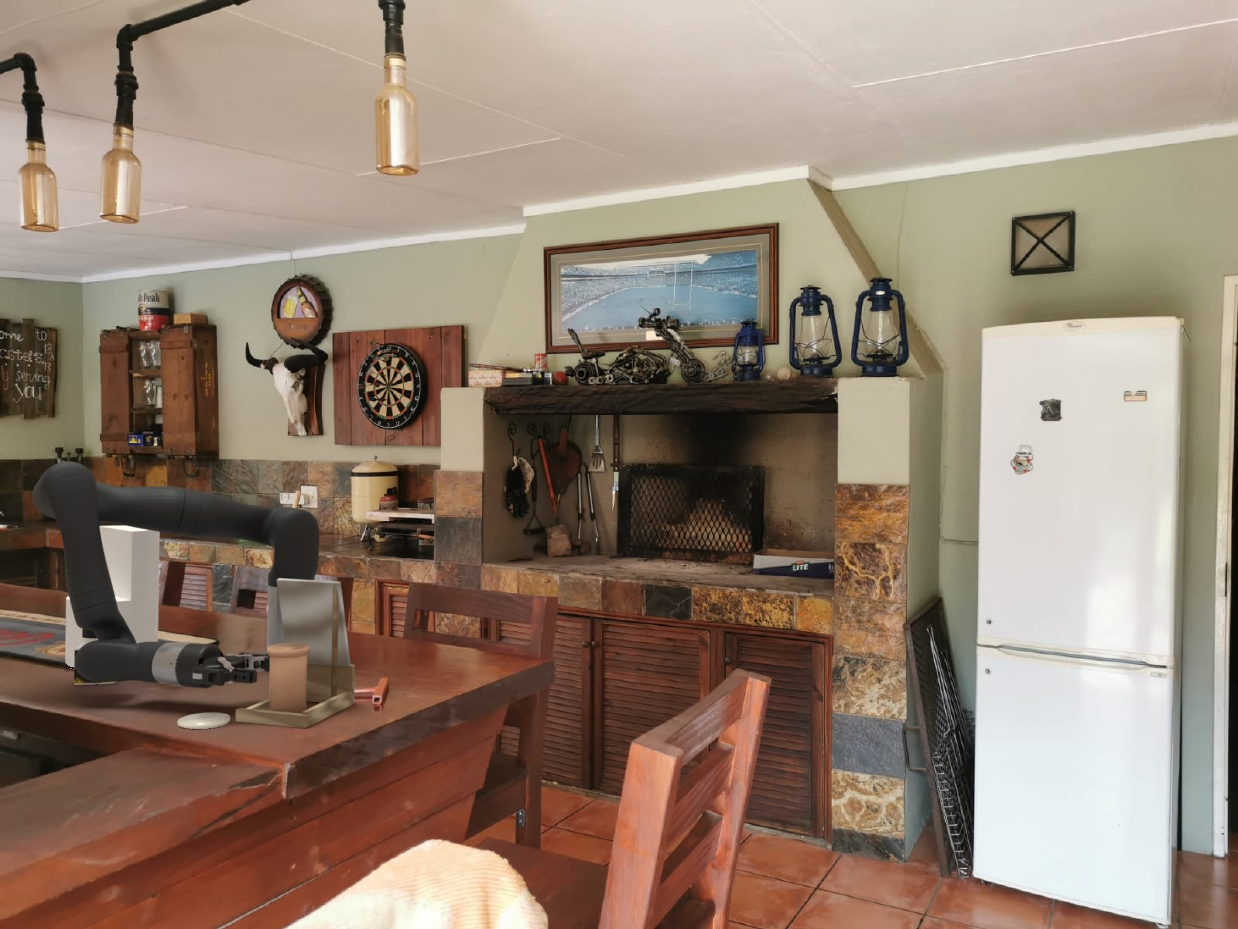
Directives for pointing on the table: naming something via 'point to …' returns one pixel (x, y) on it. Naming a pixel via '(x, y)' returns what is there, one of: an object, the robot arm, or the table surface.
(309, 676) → the cold frame
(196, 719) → the saucer
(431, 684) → the table surface
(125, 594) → the rounded stepped block
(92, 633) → the medicine bottle
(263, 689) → the table surface
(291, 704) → the clay pot
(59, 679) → the table surface
